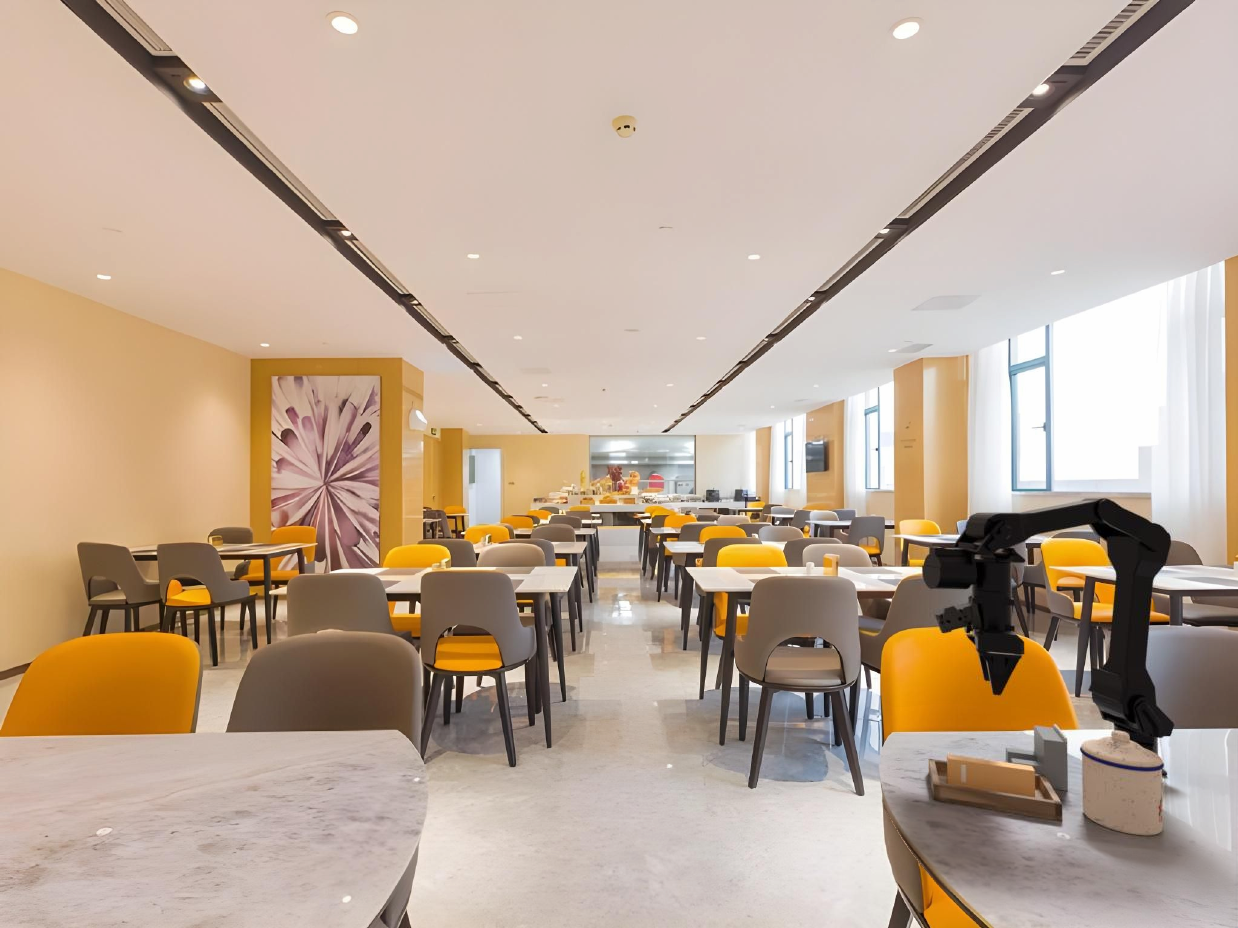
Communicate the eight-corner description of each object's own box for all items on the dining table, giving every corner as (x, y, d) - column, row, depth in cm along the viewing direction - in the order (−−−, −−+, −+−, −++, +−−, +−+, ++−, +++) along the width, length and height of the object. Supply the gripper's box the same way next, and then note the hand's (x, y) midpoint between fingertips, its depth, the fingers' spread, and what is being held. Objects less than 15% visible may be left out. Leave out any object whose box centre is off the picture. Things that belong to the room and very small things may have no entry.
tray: (928, 772, 106) (928, 758, 106) (1044, 790, 101) (1044, 774, 101) (933, 799, 96) (933, 783, 97) (1062, 820, 91) (1062, 803, 91)
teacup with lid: (1182, 840, 86) (1180, 746, 87) (1103, 833, 88) (1102, 741, 88) (1126, 799, 98) (1124, 717, 99) (1057, 794, 99) (1056, 713, 100)
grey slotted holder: (1005, 766, 110) (1005, 718, 110) (1056, 773, 107) (1055, 724, 108) (1013, 782, 103) (1013, 731, 104) (1067, 790, 101) (1067, 738, 101)
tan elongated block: (947, 781, 102) (947, 753, 102) (1032, 794, 98) (1031, 765, 98) (948, 786, 100) (948, 758, 100) (1035, 800, 96) (1034, 770, 96)
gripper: (932, 581, 123) (933, 669, 122) (941, 593, 105) (942, 696, 104) (1003, 585, 119) (1004, 676, 118) (1024, 598, 101) (1025, 705, 100)
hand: (992, 687), depth 110 cm, fingers open, 9 cm apart
